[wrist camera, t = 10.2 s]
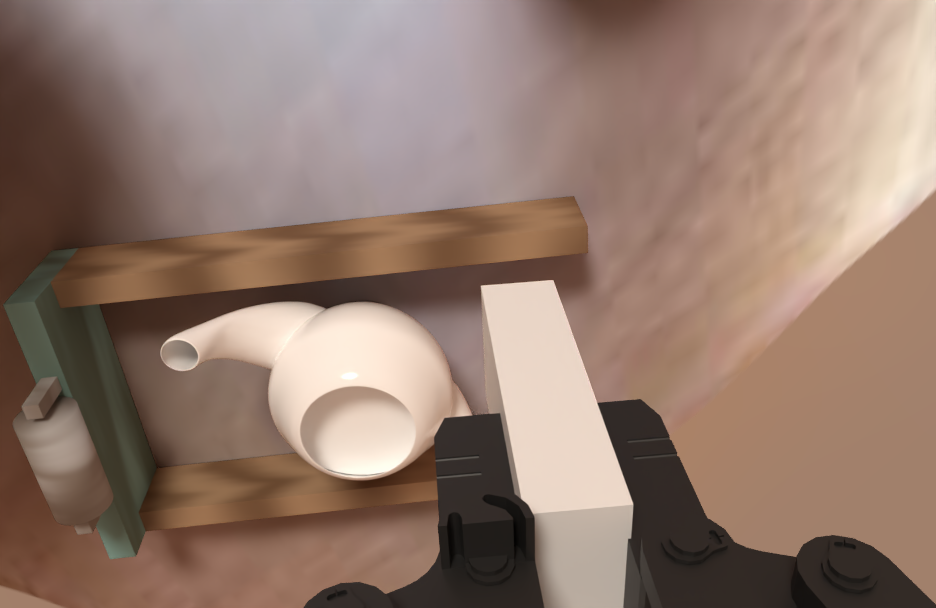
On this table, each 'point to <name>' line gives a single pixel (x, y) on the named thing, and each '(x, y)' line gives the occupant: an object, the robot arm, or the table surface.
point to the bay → (212, 270)
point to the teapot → (337, 379)
